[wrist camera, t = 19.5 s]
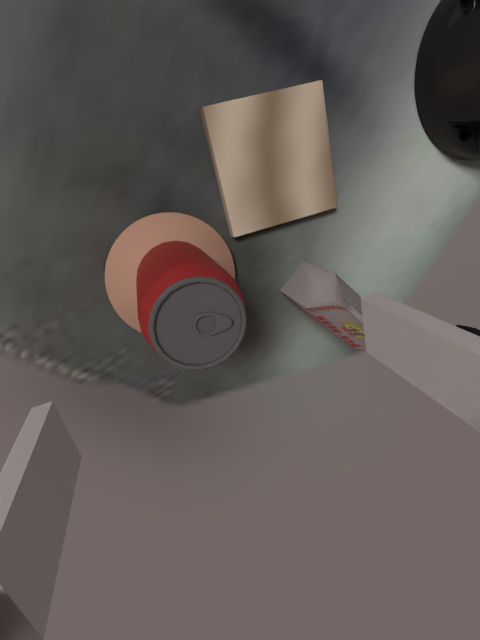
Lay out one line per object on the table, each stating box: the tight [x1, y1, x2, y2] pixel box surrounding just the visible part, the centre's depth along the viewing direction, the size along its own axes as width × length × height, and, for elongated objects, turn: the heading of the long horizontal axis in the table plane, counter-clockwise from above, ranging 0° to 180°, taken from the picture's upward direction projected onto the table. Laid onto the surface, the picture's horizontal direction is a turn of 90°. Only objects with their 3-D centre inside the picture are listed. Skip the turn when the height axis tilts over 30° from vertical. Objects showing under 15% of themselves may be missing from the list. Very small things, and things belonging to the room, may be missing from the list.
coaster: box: [105, 212, 235, 333], centre depth 31 cm, size 11×11×1 cm
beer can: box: [136, 240, 247, 370], centre depth 26 cm, size 7×7×12 cm
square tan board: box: [200, 80, 338, 237], centre depth 31 cm, size 10×10×1 cm
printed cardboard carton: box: [280, 261, 366, 350], centre depth 32 cm, size 4×7×10 cm, turn 50°
